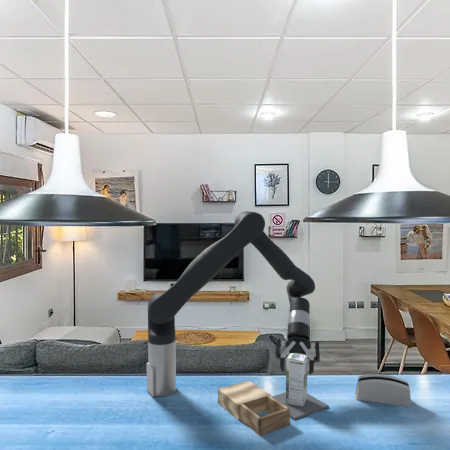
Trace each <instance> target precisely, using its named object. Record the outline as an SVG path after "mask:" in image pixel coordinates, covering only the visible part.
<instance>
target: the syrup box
mask: <svg viewBox="0 0 450 450" xmlns="http://www.w3.org/2000/svg"><path fill="white" fill-rule="evenodd" d="M285 366H286V367H285V369H286V370H285V392H286V404H290V405H296V406H302V407H304V404H305V402H306V399H307V394H308V359H307V356H306V355H303V354H297V353H290V355H289V356H288V357H287V358H286V359H285Z"/></svg>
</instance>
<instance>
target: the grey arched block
mask: <svg viewBox="0 0 450 450" xmlns="http://www.w3.org/2000/svg"><path fill="white" fill-rule="evenodd" d="M354 394H355V397H354V398H355V400H357V401H362V400H363V401H364V402H370V401H371V403H379V404H386V405H387V404H388V405H395V406H403V407H412V398H411V389H410V384H409V382H408V381H407V380H405V379H404V378H403V379H402V378H401V377H396V376H393V375H389V374H388V375H387V374H381V373H380V374H379V373H377V374H375V373H374V374H369V373H368V374H362V375H359V376H358V378H357V383H356V388H355V393H354Z"/></svg>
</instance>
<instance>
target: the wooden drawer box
mask: <svg viewBox="0 0 450 450" xmlns="http://www.w3.org/2000/svg"><path fill="white" fill-rule="evenodd" d="M217 403H218V405H220V406H221V407H222V408H224V410H225V411H227V412H228V413H229V414H230V415H232V417H234V418H235V419H236V420H237V421H241V422H243V423H244V424H245V425H246V426H247V427H249V428H250V429H251V430H252V431H253V432H254V433H256V434H257V435H258V436H263V435H266V434H268V433H271V432H274V431H277V430H280V429H282V428H285V427H287V426H290V424H291V418H290V409H289V408H287V407H286V406H284V405H283V404H281V403H280V402H278V401H277V400H275V399H274V398H272V394H270V393H269V392H267V391H266V390H264V389H262V387H260V386H258V385H256V384H255V383H254V382H253V381H250V380H245V381H243V382H238V383H235V384H231V385H228V386H223V387H220V388H217ZM264 412H269V414H265V415H262V416H259V415H258V414H260V413H264Z"/></svg>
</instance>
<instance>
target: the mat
mask: <svg viewBox="0 0 450 450" xmlns="http://www.w3.org/2000/svg"><path fill="white" fill-rule="evenodd" d="M271 397H272V398H274V399H275V400H277V401H278V402H280V403H281V404H283V405H284V406H286V407H287V408H289V409H290V419H292V420H293V421H295V420H298V419H301V418H303V417H306V416H309V415H312V414H315V413H318V412H320V411H323V410H326V409H328V408H330V406H329V404H327V403H325V402H324V401H322V400H319V399H318V398H316V397H314V396H312V395H310V393H307V399H306V402H305V404H304V407H302V406H296V405H290V404H286V391H285V392H283V393H278V394H275V395H271Z"/></svg>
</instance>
